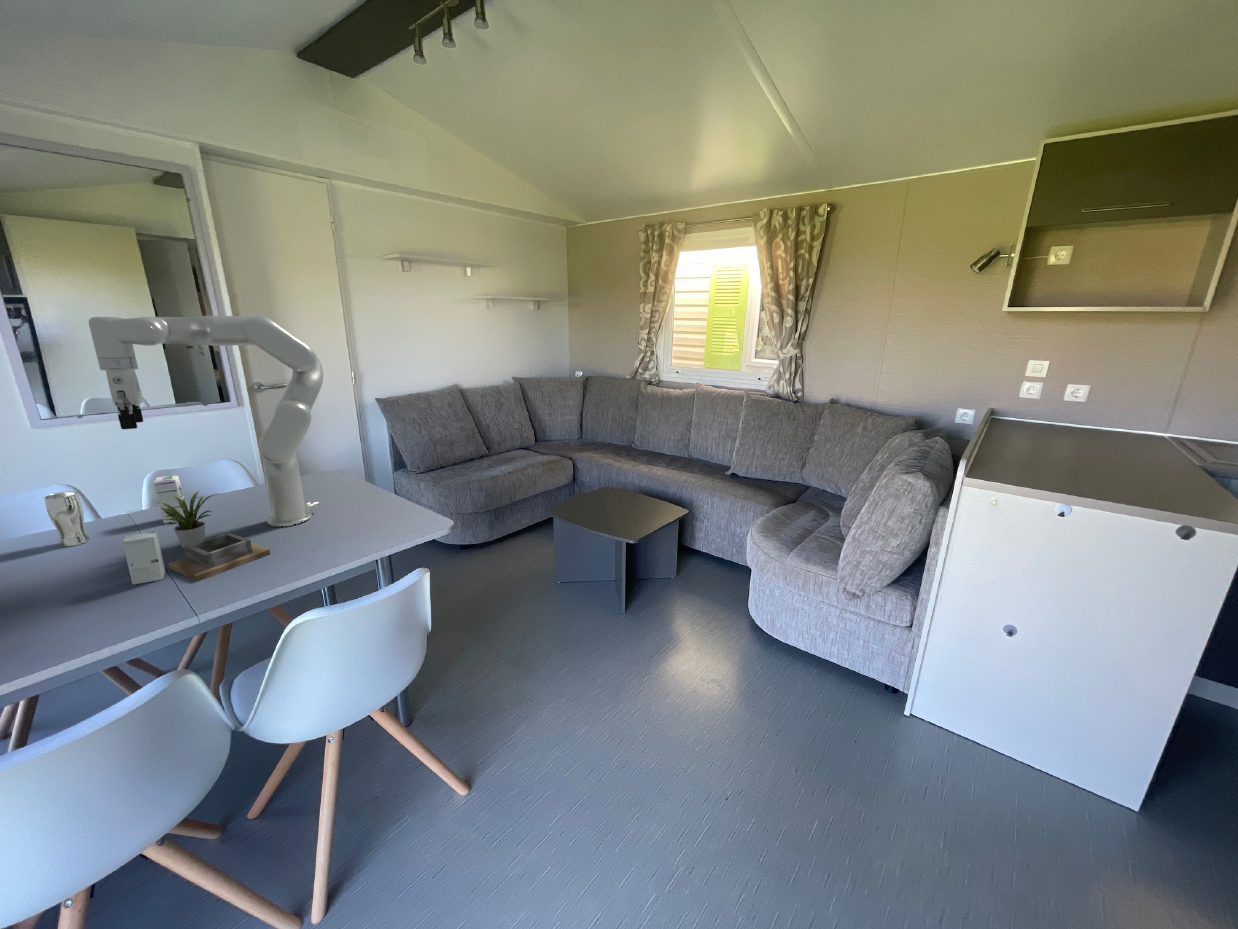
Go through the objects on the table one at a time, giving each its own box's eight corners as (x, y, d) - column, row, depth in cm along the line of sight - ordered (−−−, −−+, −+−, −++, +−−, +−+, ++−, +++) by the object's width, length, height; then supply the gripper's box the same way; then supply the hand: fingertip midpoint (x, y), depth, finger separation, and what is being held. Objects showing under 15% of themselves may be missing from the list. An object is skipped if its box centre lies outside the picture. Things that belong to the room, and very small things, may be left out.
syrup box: (186, 520, 166) (176, 479, 162) (162, 524, 163) (152, 481, 159) (188, 514, 170) (179, 474, 166) (165, 518, 167) (155, 477, 163)
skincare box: (132, 585, 127) (120, 541, 123) (136, 578, 130) (124, 535, 127) (164, 579, 130) (153, 536, 126) (167, 572, 133) (156, 530, 130)
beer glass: (96, 540, 150) (83, 493, 146) (64, 549, 144) (49, 500, 140) (85, 536, 153) (71, 489, 149) (53, 544, 147) (38, 496, 142)
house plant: (225, 530, 160) (214, 481, 155) (232, 544, 150) (222, 493, 146) (165, 542, 150) (153, 491, 145) (169, 558, 141) (156, 504, 136)
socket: (242, 543, 151) (238, 526, 149) (270, 554, 145) (267, 536, 143) (169, 568, 135) (165, 550, 134) (197, 581, 129) (193, 562, 128)
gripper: (131, 366, 131) (145, 430, 136) (142, 361, 145) (155, 419, 150) (90, 367, 127) (107, 432, 132) (106, 361, 141) (120, 421, 146)
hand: (132, 425), depth 141 cm, fingers open, 9 cm apart
